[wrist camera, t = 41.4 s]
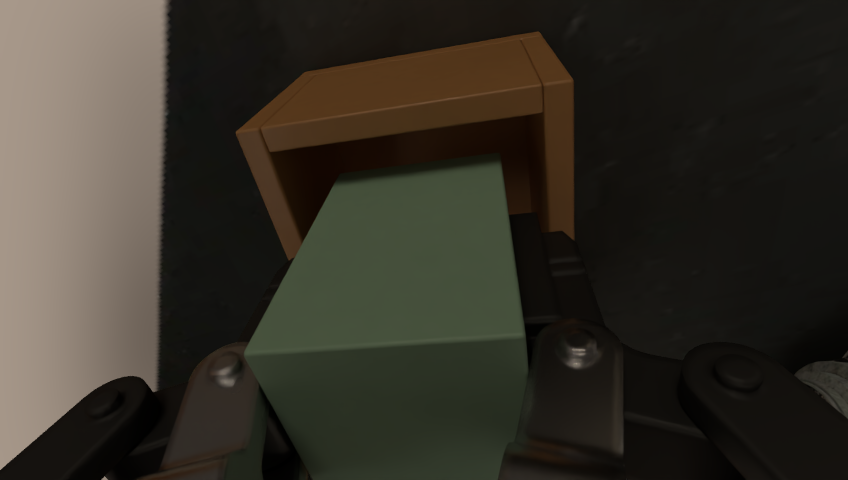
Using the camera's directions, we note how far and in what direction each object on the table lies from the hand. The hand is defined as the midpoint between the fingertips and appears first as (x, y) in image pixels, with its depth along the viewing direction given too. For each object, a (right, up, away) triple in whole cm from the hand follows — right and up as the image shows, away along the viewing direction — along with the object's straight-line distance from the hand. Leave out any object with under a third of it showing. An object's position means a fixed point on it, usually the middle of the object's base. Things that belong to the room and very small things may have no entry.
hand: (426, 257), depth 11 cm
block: (0, +1, +1) cm, 1 cm away
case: (+1, +2, +5) cm, 6 cm away
